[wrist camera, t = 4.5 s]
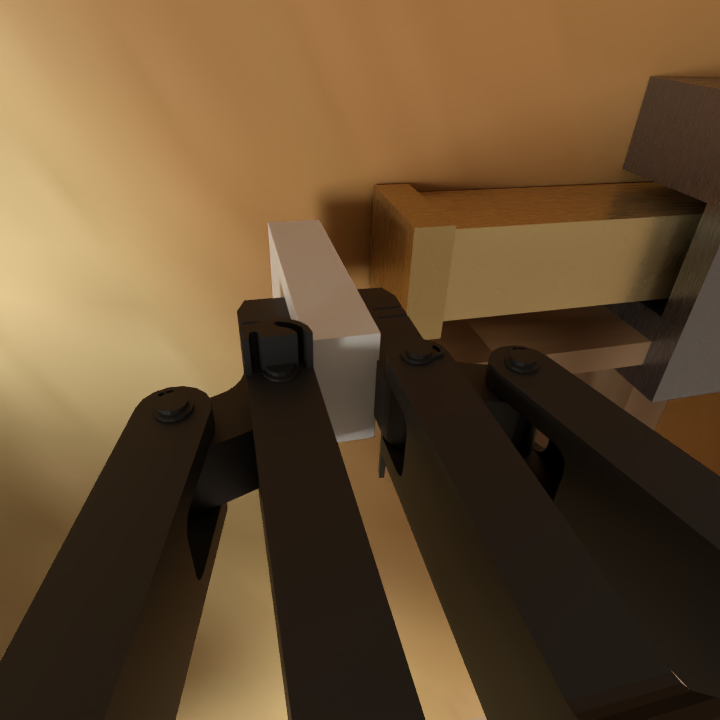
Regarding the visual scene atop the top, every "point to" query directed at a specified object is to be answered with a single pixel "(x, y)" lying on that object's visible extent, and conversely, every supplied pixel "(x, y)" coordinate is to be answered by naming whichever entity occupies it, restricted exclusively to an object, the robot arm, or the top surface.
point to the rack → (563, 349)
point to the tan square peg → (527, 248)
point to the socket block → (706, 252)
